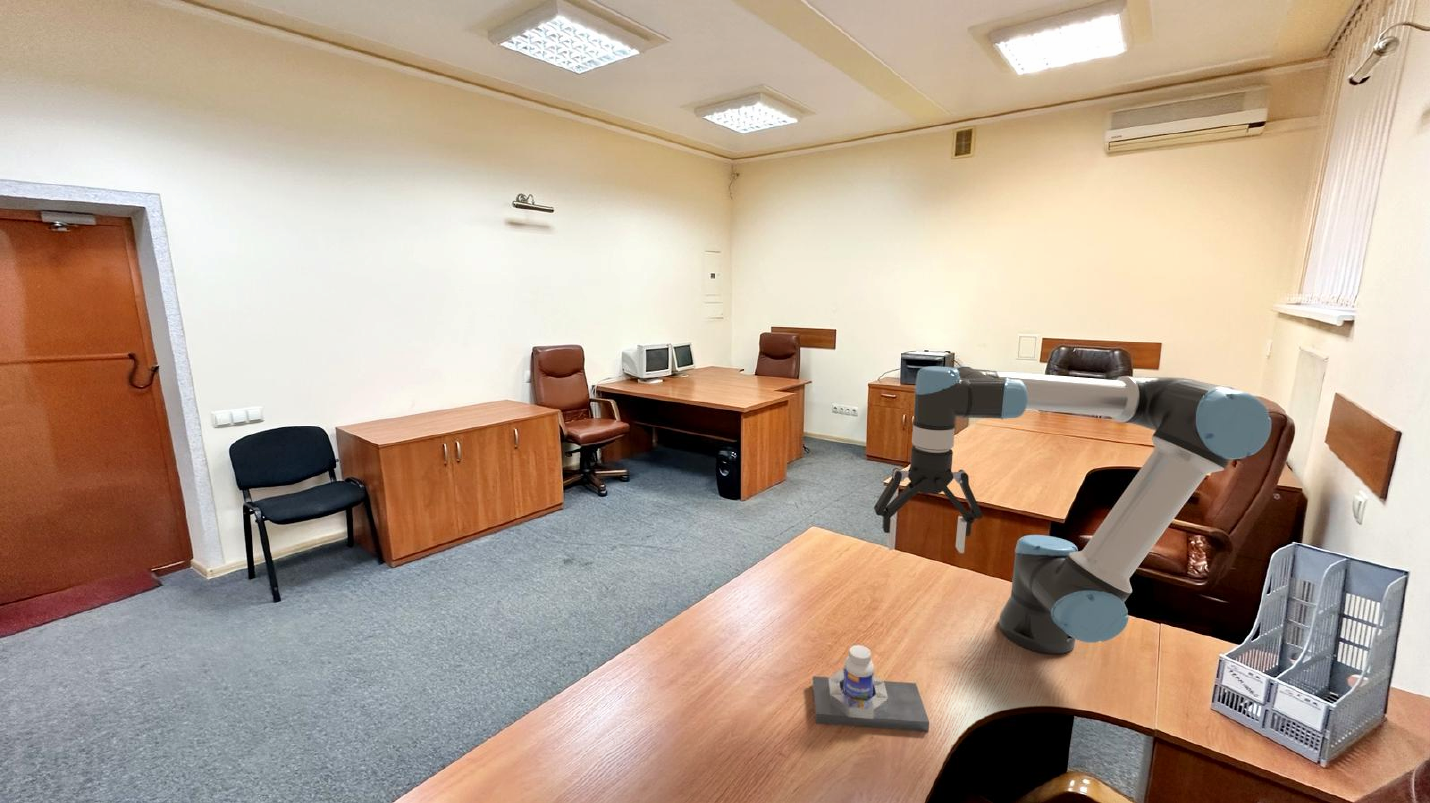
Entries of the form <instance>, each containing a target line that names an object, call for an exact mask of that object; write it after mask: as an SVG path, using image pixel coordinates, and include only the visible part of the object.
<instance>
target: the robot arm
mask: <svg viewBox="0 0 1430 803" xmlns="http://www.w3.org/2000/svg"><path fill="white" fill-rule="evenodd" d="M915 379H916V380H915V386H914V387H915V388H914V391H913V392H914V402H913V403H914V408H913V424H912V435H911V436H912V437H911V443H912V447H910V448H911V450H910V463H909V464H910V465H909V469H908V470H901V469H899V468H898V467H894V468H893V469H892V473H891V474H892V475H891V479H890V480H889V482H888V484H887V485H886V487H885V489H884V490H883V491H882V493H881V495H880V496H879V498H878V499H877V502H876V503H875V505H874V506H873V510H874V513H875V514H876V516H881V517H882V527H881V528H882V531H883V533H884V534H885V533H886V546H887V548H888V550H889V551H894V540H895V525H896V523H895V522H896V518H895V517H894V515H895V514H896V513H897V512H899V510H900V509H902V507H903V506H904V505H905V504H907V503H908V501H909V500H911V498H913V497H916V495H917V494H918V493H920V494H921V495H927V494H932V495H939V494H941V493H942V492H943V494H944V495H945V496H946V498H948V499H949V501H950V502H951V504H953V506H954V507H955V508H956V509H957V511H958V512H959V513H960V514H961V515H962V516H958V517H957V526H956V527H957V528H956V538H955V539H956V540H955V548H956V549H957V551H958V553H959V554H964V553H965V546H966V544H965V542H966V537H970V535H971V531H972V524H973V523H974V522H975V520H977V519H978V520H981V519H983V517H984V515H983V513H982V511H981V508H980V507H979V506H980V505H979V504H978V501H977V500H976V497H975V495H974V493H973V491H972V489H971V487H970V482H969V481H970V480H969V479H970V478H969V474H968V473H967V472H966V471H965V470H964V469H958V471H954V472H953V471H952V466H953V465H952V464H953V455H954V452H953V450H952V448H953V447H954V444H955V427H956V420H957V418H958V419H959V418H961V419H967V418H970V419H1000V420H1005V419H1018V418H1020V417H1021V416H1023V415H1024V413H1025V412H1026V410H1033V411H1045V412H1055V413H1064V414H1065V413H1066V414H1067V413H1068V414H1078V415H1087V416H1088V415H1089V416H1099V417H1110V418H1111V419H1112V420H1113V421H1114V422H1117V423H1123V424H1131V425H1135V426H1140V427H1143V428H1147V429H1150V430H1153V431H1155V432H1154V433H1153V434H1152V435H1151V441H1152V443H1153V447H1154V448H1153V450H1152V452H1151V454H1150V455H1149V457H1148V458H1147V459H1146V461H1145V462H1144V464H1142V467H1141V468H1140V469H1139V471H1138V472H1137V474H1135V475H1134V476H1135V477H1133V479H1132V481H1131V482H1130V483H1129V485H1128V486H1127V487H1126V489H1125V490H1124V492H1123V493H1122V494H1121V496H1120V497H1119V499H1118V500H1117V502H1116V503H1115V504H1114V506H1113V507H1112V509H1111V510H1110V511H1109V512H1108V514H1107V516H1106V517H1105V518H1104V520H1103V521H1102V523H1101V524H1100V525H1099V527H1098V528H1097V529H1096V530H1095V532H1094V534H1093V535H1092V537H1091V538H1090V539H1089V541H1088V542H1087V544H1086V545H1085V546H1084V547H1083V549H1082V550H1080V551H1079V550H1078V546H1077V545H1075V544H1074V543H1073V542H1071V541H1069V540H1067V539H1063V538H1060V537H1057V536H1051V535H1043V534H1029V535H1024V536H1022V537H1020V538H1019V539H1018V540H1017V542H1016V546H1015V549H1014V553H1015V554H1014V562H1013V571H1012V572H1013V573H1012V580H1011V591H1010V596H1009V597H1008V600H1007V601H1006V603H1005V604H1004V607H1003V608H1002V610H1001V612H1000V614H999V619H998V620H999V621H998V626H999V629H1000V631H1001V632H1002V634H1003V635H1004V636H1005V637H1006V638H1008V639H1009V640H1011V642H1014V643H1015V645H1019V646H1021V647H1022V648H1025V649H1028V650H1030V651H1032V652H1033V651H1034V652H1037V653H1041V654H1048V655H1049V654H1050V655H1061V654H1066V653H1069V652H1071V651H1072V650H1073V649H1074V647H1075V645H1076V641H1079V642H1083V643H1087V644H1088V643H1091V644H1092V643H1093V644H1094V643H1095V644H1096V643H1098V642H1108V641H1109V640H1112V639H1114V638H1116V637H1117V636H1119V635H1120V634H1121V633H1122V632H1123V631H1124V630H1125V628H1127V625H1128V623H1129V617H1130V616H1129V615H1128V614H1129V613H1128V612H1129V611H1128V608H1127V607H1126V606H1127V605H1126V604H1125V602H1126V601H1127V599H1128V598H1129V596H1130V595H1131V594H1132V593H1133V589H1132V585H1131V582H1130V578H1131V577H1132V576H1133V574H1134V573H1135V572H1136V570H1137V569H1138V568H1139V566H1140V565H1141V563H1142V562H1143V560H1144V559H1145V558H1146V557H1147V556H1148V554H1149V552H1151V550H1152V549H1153V547H1154V546H1155V545H1156V543H1157V542H1158V541H1159V540H1160V538H1161V537H1162V535H1164V532H1165V531H1166V530H1167V529H1168V527H1169V526H1170V524H1171V523H1172V522H1173V521H1174V519H1175V518H1176V517H1177V515H1178V514H1179V512H1180V511H1181V510H1182V508H1184V505H1186V503H1187V502H1188V500H1189V499H1190V497H1191V496H1192V495H1193V493H1194V492H1195V491H1196V490H1197V488H1198V487H1199V485H1200V484H1201V483H1202V482H1203V481H1204V479H1205V477H1206V476H1207V475H1208V474H1211V473H1216V472H1222V471H1224V470H1225V469H1226V468H1227V466H1228V465H1229V463H1230V462H1231V461H1232V460H1238V459H1239V460H1240V459H1245V458H1246V457H1247V456H1248V457H1249V456H1252V455H1256V453H1258V452H1259V451H1260V450H1261V449H1262V448H1263V447H1264V446H1265V445H1266V443H1267V442H1268V440H1269V438H1270V436H1271V432H1272V418H1271V417H1270V415H1269V412H1270V411H1269V410H1268V408H1267V406H1266V405H1265V404H1264V402H1263V401H1262V400H1261V399H1259V398H1258V397H1256V396H1255V395H1253V394H1251V393H1249V392H1245V391H1242V390H1239V389H1236V388H1233V387H1231V386H1222V385H1218V384H1214V383H1208V382H1203V381H1199V380H1196V379H1190V378H1185V377H1167V376H1166V377H1163V376H1162V377H1159V376H1155V377H1149V376H1148V377H1147V376H1129V375H1123V376H1119V377H1118V378H1116V379H1104V378H1103V379H1102V378H1091V377H1089V378H1088V377H1079V376H1077V377H1075V376H1065V375H1052V374H1041V373H1040V374H1039V373H1028V372H1027V373H1026V372H1015V371H1004V370H989V369H978V368H977V369H976V368H972V367H971V366H963V365H958V366H955V367H950V366H940V365H939V366H938V365H937V366H935V365H934V366H933V365H932V366H924V367H922V368H920V369H919V370H918V371H917V374H916V378H915ZM907 478H908V480H909V482H908V484H907V485H905V487H904V489H903V490H902V491H901V492H900V493H899V494H898V495H897V496H895V497H894V495H895V493H896V492H897V490H898V489H899V486H900V484H901V483H902V482H904V480H905V479H907ZM953 480H955V482H956V483H957V484H959V486H960V488H961V492H962V493H963V495H964V496H965V497H964V498H965V499H966V502H967V504H968V507H969V508H970V510H967V509H966V508H965V506H964V505H963V504H962V503H961V502H960V500H959V499H958V498H957V497H956V496H955V494H954V493H953V492H952V491H951V489H950V488H949V487H948V486H949V485H950V483H951V482H952V481H953ZM893 497H894V499H893V500H892V498H893Z"/></svg>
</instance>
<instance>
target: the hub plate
mask: <svg viewBox="0 0 1430 803" xmlns="http://www.w3.org/2000/svg"><path fill="white" fill-rule="evenodd" d="M843 683H844V668H842V669H840V670H838V671H837V672H835V673H833V674H832V675H830V676H829V677H828V676H815V675H814V676H812V693H813V705H814V716H815V724H822V725H823V724H825V725H837V726H847V727H848V726H849V727H850V726H851V727H862V728H863V727H864V728H878V729H887V730H889V729H891V730H903V731H915V732H927V733H928V732H929V729H930V720H929V717H928V714H927V712H926V709H925V705H924V703H923V699H922V696H921V694H920V692H919V688H918V685H917V683H916V682H905V681H890V680H882V679H880V678H878V676H875V675H874V678H873V693H872V698H871V699H869V700H868V701H863V700H852V699H851V698H849V697H848V696H846V695H845V694H843Z"/></svg>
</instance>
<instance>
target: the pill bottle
mask: <svg viewBox="0 0 1430 803" xmlns="http://www.w3.org/2000/svg"><path fill="white" fill-rule="evenodd" d="M843 665H844V667H843V669H844V683H843V694H845V695H846V696H848V697H849V698H851V699H852V700H863V701H868V700H869V699H871V698H872V693H873V678H874V676H875V665H874V663H873V661H872V651H871V650H870V649H869V648H867V647H866V646H863V645H860V644H857V645H852V646H851V647H849V649H848V656H847V657H846V658H845V660H844V664H843Z"/></svg>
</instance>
